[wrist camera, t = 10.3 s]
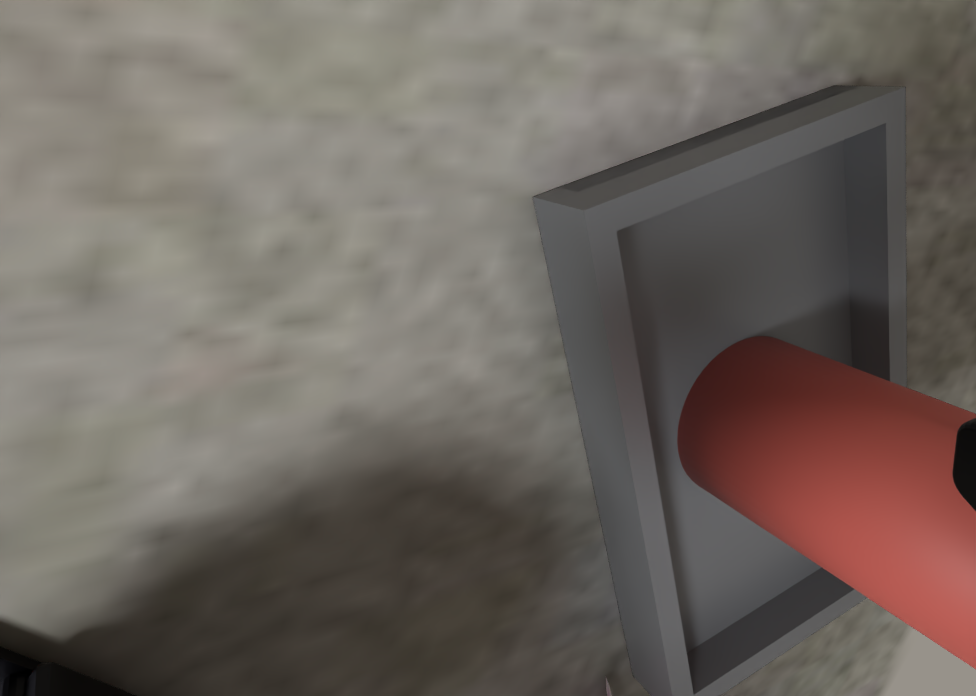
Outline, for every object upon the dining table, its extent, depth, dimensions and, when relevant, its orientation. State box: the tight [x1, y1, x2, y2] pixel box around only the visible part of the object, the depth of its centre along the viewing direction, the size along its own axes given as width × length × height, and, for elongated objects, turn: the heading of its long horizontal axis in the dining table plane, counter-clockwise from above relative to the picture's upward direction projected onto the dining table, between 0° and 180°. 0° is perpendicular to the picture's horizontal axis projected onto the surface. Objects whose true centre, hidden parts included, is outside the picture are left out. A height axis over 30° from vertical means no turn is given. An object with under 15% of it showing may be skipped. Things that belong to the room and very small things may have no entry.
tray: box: [533, 86, 907, 696], centre depth 26 cm, size 11×18×2 cm, turn 15°
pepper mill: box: [677, 336, 976, 669], centre depth 20 cm, size 5×5×13 cm
